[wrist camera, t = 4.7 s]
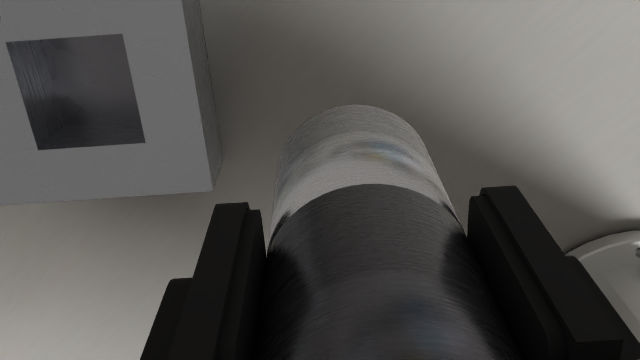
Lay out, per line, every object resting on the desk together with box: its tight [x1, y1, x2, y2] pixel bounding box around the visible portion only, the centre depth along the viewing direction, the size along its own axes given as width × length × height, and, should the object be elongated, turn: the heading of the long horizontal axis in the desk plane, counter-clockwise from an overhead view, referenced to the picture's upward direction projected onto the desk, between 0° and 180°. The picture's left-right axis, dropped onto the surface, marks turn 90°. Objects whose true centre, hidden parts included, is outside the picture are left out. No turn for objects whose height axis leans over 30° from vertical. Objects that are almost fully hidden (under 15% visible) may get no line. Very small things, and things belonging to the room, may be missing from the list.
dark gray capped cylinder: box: [254, 104, 522, 360], centre depth 9 cm, size 4×4×11 cm
